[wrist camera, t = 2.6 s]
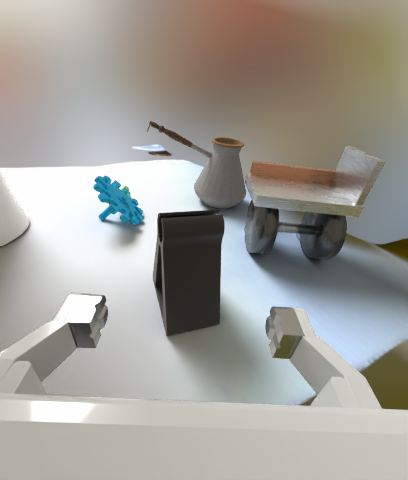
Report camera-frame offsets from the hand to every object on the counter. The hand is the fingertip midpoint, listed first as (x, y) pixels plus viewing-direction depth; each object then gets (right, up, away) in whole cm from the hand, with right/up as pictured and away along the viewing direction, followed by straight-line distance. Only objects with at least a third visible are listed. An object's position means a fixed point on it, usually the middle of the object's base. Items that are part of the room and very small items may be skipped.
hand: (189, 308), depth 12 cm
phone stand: (-2, -4, +18) cm, 18 cm away
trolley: (+14, +2, +30) cm, 33 cm away
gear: (-14, +7, +32) cm, 36 cm away
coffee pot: (-1, +12, +42) cm, 44 cm away
